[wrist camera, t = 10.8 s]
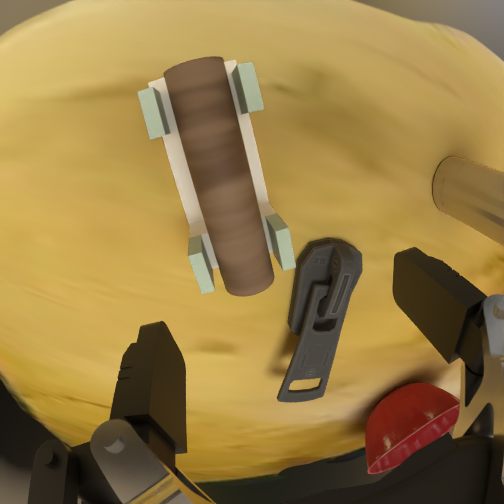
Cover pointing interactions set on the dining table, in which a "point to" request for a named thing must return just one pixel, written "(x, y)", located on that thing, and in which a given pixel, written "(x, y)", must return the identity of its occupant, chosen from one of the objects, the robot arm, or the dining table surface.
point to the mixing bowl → (407, 423)
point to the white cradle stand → (165, 125)
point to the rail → (220, 172)
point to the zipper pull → (319, 312)
